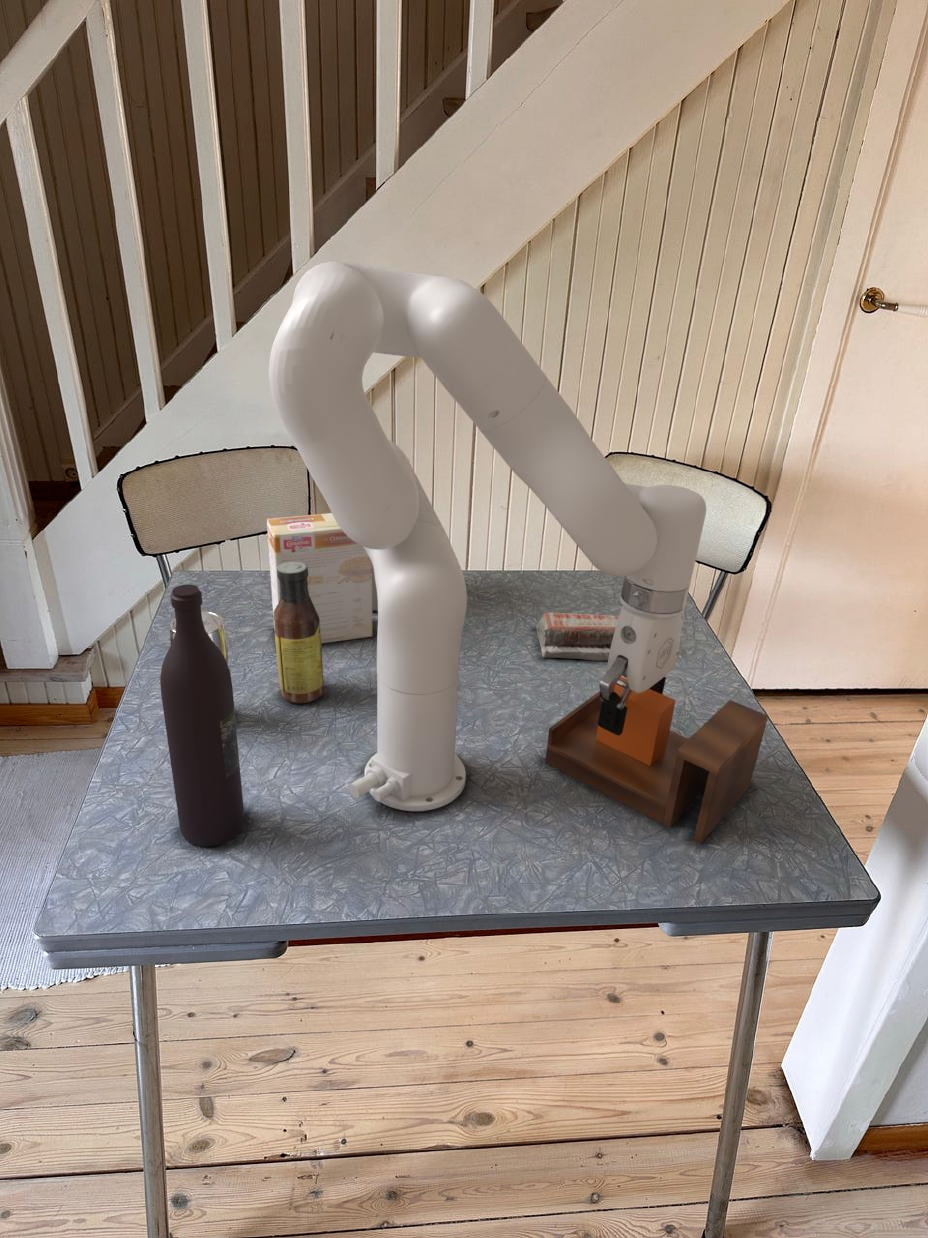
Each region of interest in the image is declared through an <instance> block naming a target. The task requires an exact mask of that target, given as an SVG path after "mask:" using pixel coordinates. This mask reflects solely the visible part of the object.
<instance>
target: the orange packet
mask: <svg viewBox="0 0 928 1238" xmlns="http://www.w3.org/2000/svg"><path fill="white" fill-rule="evenodd" d="M620 680H622V681H625V682H627V683H628V680H627V678H626V677H624V676H621V677H620ZM624 689H625V688H623V687H621V686H619V685H615V690H614V692H616V693H617V694H618V695H619V697H621V695H622V693H623V691H624ZM675 705H676V699H674V698H672V697H669V696H667V695H665V694H660V693H658V692H655V691H653V690H651V689H647V690H646V691H644V692H642V693H635V691H633V690H632V692H631V694H630V696H629V698H628V700H627V702H626V704H625V706H626V707H628V708H627V713H626V718H625V723H624V728H623V733H622V734H621V735H619V736H618V735H616V734H614V733H611V732H609V731H607V730H605V729H603V728H601V727H599V725H598V729H597V736H596V740H597V741H599V742H601V743H603V744H605V745H607V746H610V747H612V748H614V749H616V750H618V751H620V752H622V753H624V754H626V755H628V756H630V757H632V758H634V759H636V760H639V761H641V762H643V763H645V764H647V765H649V766H651V765H652V764H653V763H654V762H655V761H656V760H657V759H659V758H660V757H661V756H662V755H663V754H664V753H665V751H666V746H667V741H668V736H669V731H671V726H672V721H673V715H674V710H675Z"/></svg>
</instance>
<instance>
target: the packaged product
mask: <svg viewBox="0 0 928 1238" xmlns="http://www.w3.org/2000/svg"><path fill="white" fill-rule="evenodd" d="M618 618H619V615H609V614H590V613H570V612H569V613H567V612H550V611H549V612H544V613H543V614H542V617H541V618H540V620H539V621H538V623H536V624H535V627H536V633H537V638H538V642H539V646H540V651H541V652H540V653H541V656H542V658H543V659H544V658H547V659H548V658H549V659H550V658H551V659H572V660H573V659H574V660H575V659H577V660H588V661H589V660H590V661H608V658H609V653H610V648H611V644H612V640H613V636H614V632H615V628H616V625H617V621H618Z"/></svg>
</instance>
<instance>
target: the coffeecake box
mask: <svg viewBox="0 0 928 1238" xmlns="http://www.w3.org/2000/svg"><path fill="white" fill-rule="evenodd" d="M266 530H267V544H268V546H267V547H268V559H269V575H270V587H271V588H270V590H271V602H272V615H273V616H272V617H273V619H274V610H275V609H276V606H277V605H278V603H279V600H280V582H279V579H278V577H277V567H278V566H279V565H280V564H282V563H285V562H302V563H304V564H306V565H307V567H308V577H307V582H308V591H309V596H310V598H311V600H312V603H313V605H314V607H315V609H316V612H317V614H318V616H319V620H320V635H321V644H327V643H335V642H342V641H348V640H349V641H351V640H355V639H356V640H357V639H363V638H371V637H373V611H372V562H371V559H370V558H369V556H368V554H367V552H366V551H365V549H364V547H363V546H361V545H359V544H358V543H356V542H354V541H353V540H351V539H350V538H349V537H348V536H347V535H346V534H345V533H344V532H343V531H342V529H341V528H340V527H339V525H338V524H337V522H336V520H335V518H334V516H333V514H332V512H327V513H318V514H317V513H316V514H305V515H295V516H286V517H285V516H284V517H274V518H273V517H272V518H267V519H266ZM273 627H274V628H273V629H274V631H275V624H274V623H273Z"/></svg>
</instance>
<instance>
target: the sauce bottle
mask: <svg viewBox="0 0 928 1238" xmlns="http://www.w3.org/2000/svg"><path fill="white" fill-rule="evenodd" d="M277 577H278V579H279V582H280V600H279V603H278V605H277V606H276V609H275V610H274V618H273V625H274V624H275V630H274V642H275V650H276V651H275V652H276V662H277V672H278V673H277V674H278V684H279V688H280V690H279V691H280V693H281V696H282V697H283V699H284V700H285V701H287V702H290V703H292V704H308V703H311V702H313V701H315V700H318V699H320V697H322V695H323V693H324V682H325V679H324V666H323V664H324V663H323V652H322V651H323V650H322V643H321V635H320V620H319V616H318V614H317V612H316V609H315V607H314V605H313V603H312V600H311V598H310V596H309V591H308V582H307V577H308V567H307V565H306V564H304V563H302V562H285V563H282V564H280V565H279V566H278V567H277Z"/></svg>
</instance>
